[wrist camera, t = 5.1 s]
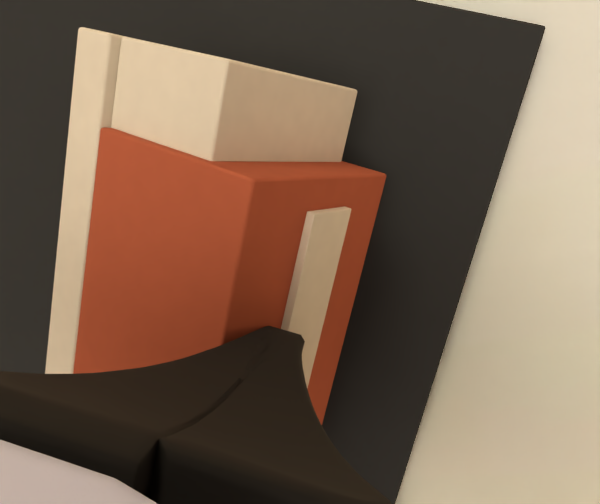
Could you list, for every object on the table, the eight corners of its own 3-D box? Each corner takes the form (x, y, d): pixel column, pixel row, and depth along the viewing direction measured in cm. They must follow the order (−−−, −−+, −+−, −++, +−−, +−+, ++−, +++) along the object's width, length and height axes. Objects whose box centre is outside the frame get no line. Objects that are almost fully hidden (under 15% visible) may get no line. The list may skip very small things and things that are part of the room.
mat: (371, 571, 20) (370, 580, 19) (-35, 434, 22) (-43, 440, 21) (542, 28, 15) (546, 26, 14) (-8, -83, 17) (-18, -87, 16)
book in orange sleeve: (307, 510, 17) (172, 639, 12) (181, 427, 19) (31, 509, 15) (414, 102, 14) (285, 71, 9) (246, 65, 16) (77, 26, 11)
